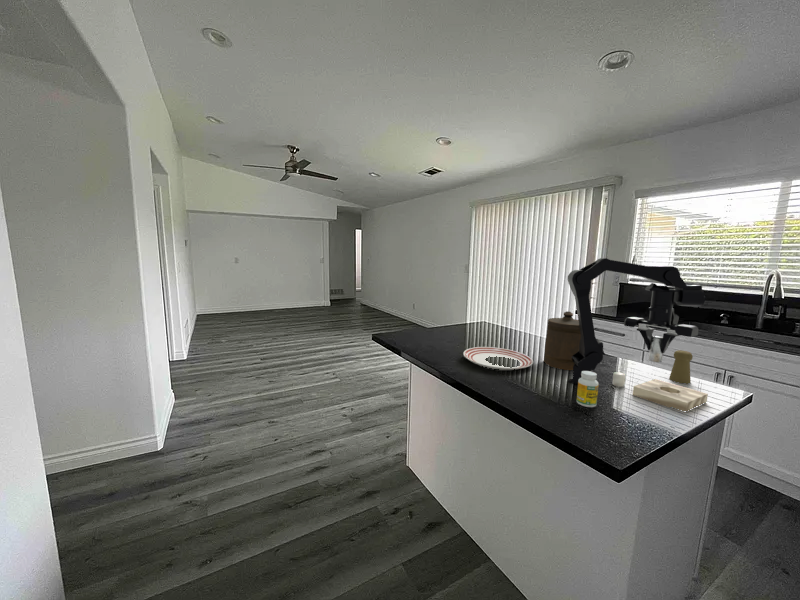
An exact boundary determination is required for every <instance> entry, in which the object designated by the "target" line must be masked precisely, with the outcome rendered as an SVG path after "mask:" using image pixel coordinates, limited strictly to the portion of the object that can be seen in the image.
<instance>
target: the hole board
mask: <svg viewBox="0 0 800 600" xmlns="http://www.w3.org/2000/svg"><path fill="white" fill-rule="evenodd" d="M632 396H634V397H638V398H640V399H643V400H646V401H648V402H649V401H650V402H653V403H655V404H659V405H661V406H664V407H667V408H670V407H673V408H676V409H679V410H682V411H688V410H690V409H692V408H694V407H696V406H699V405H701V404H703V403H706V402H707V401H708V396H709V393H706V392H704V391H703V392H702V391H699V390H696V389H693V388H689V387H685V386H682V385H677V384H674V383H671V382H667V381H664V380H660V379H658V378H655V379H651V380H649V381H648V380H647V381H645V382H642V383H639V384H635V385H633V388H632ZM706 404H707V403H706ZM699 407H700V406H699ZM673 408H672V409H673ZM676 409H675V410H676ZM679 410H678V411H679ZM682 411H681V412H682Z"/></svg>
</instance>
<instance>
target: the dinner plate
mask: <svg viewBox="0 0 800 600" xmlns="http://www.w3.org/2000/svg"><path fill="white" fill-rule="evenodd" d="M462 354H463V357H464V358H465V359H467V360H468V361H470V362H471V363H473V364H475V365H478V366H480V367H482V366H483V368H485V367H487V368H486V369H489V368H492V369H491V370H494V369H499V370H498V371H513V370H514V369H515V370H519V369H525V368H528V367H531V366H533V364H534V360H533V358H532V357H530V356H528V355H527V354H525V353H523V352H520V351H517V350H512V349H509V348H502V347H495V346H476V347H470V348H467V349H465V350H464V351H463V353H462ZM489 356H490V357H496V356H497V357H505V358H509V359H510V358H511V359H514V360H518V361H519V362H520V363H521V364H520V366H517V367H512V368H510V367H504V366H503V365H502V366H499V365H498V364H497V365H496V364H495V365H492V363H489V362H488V361H486V360H485V359H486V358H488V357H489ZM515 370H514V371H515Z"/></svg>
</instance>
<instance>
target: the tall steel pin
mask: <svg viewBox="0 0 800 600" xmlns="http://www.w3.org/2000/svg"><path fill="white" fill-rule="evenodd" d="M662 341H663V336H660V335H652V336H651V343H650V351H649V352H648V361H650V362H653V363H662V362H663V355H664V353H662V350H661V349H662Z"/></svg>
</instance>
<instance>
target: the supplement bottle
mask: <svg viewBox="0 0 800 600" xmlns="http://www.w3.org/2000/svg"><path fill="white" fill-rule="evenodd" d="M597 376H598V374H597V373H596V372H594V371H593V372H591V371H582V372H581V377H582V378H580V379H579V380H578V385H577V390H576V391H577V392H576V403H577V404H578V405H579V406H580V405H581V406H582V407H586V408H596V407H597V403H598V396H599V381H598V380H597V378H598V377H597Z"/></svg>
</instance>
